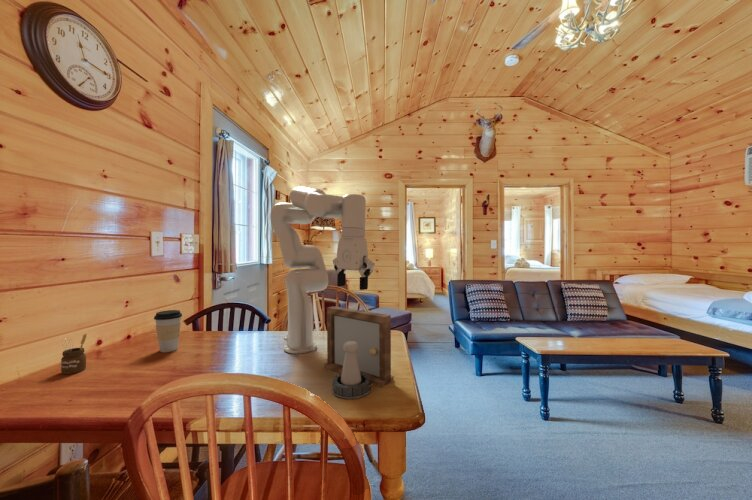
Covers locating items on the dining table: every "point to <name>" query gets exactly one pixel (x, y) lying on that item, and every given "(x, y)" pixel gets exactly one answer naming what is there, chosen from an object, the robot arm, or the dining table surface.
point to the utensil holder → (73, 359)
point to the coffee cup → (168, 329)
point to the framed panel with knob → (383, 341)
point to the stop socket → (351, 388)
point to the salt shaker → (350, 365)
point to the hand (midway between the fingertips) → (352, 287)
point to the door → (364, 336)
